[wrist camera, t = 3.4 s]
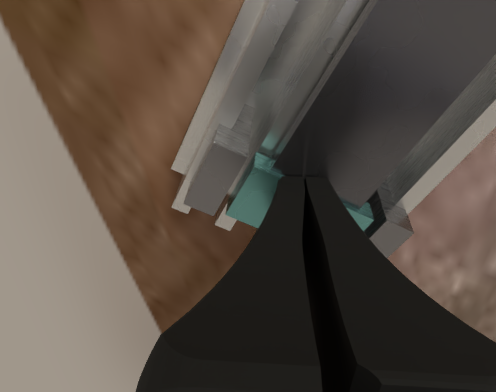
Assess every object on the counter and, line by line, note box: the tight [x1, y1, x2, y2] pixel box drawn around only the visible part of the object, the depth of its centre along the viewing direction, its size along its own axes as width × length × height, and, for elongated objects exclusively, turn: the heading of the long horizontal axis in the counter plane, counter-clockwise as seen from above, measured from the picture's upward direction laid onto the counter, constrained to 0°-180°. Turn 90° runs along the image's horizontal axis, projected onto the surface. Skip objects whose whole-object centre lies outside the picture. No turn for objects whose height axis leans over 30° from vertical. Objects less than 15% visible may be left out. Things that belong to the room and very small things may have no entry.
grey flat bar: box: [225, 0, 496, 231], centre depth 10 cm, size 11×4×1 cm, turn 154°
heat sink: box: [171, 0, 496, 258], centre depth 11 cm, size 13×8×5 cm, turn 154°
